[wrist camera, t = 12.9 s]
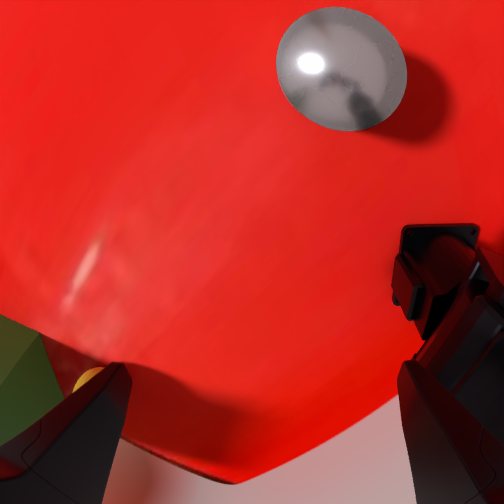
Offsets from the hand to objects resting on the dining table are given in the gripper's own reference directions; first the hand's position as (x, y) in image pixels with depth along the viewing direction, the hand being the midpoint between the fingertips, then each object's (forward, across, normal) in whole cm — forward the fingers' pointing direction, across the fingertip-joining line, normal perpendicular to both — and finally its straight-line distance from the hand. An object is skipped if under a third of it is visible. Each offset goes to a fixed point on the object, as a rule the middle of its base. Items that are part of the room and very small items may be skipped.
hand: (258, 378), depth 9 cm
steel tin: (+13, -4, -9) cm, 16 cm away
